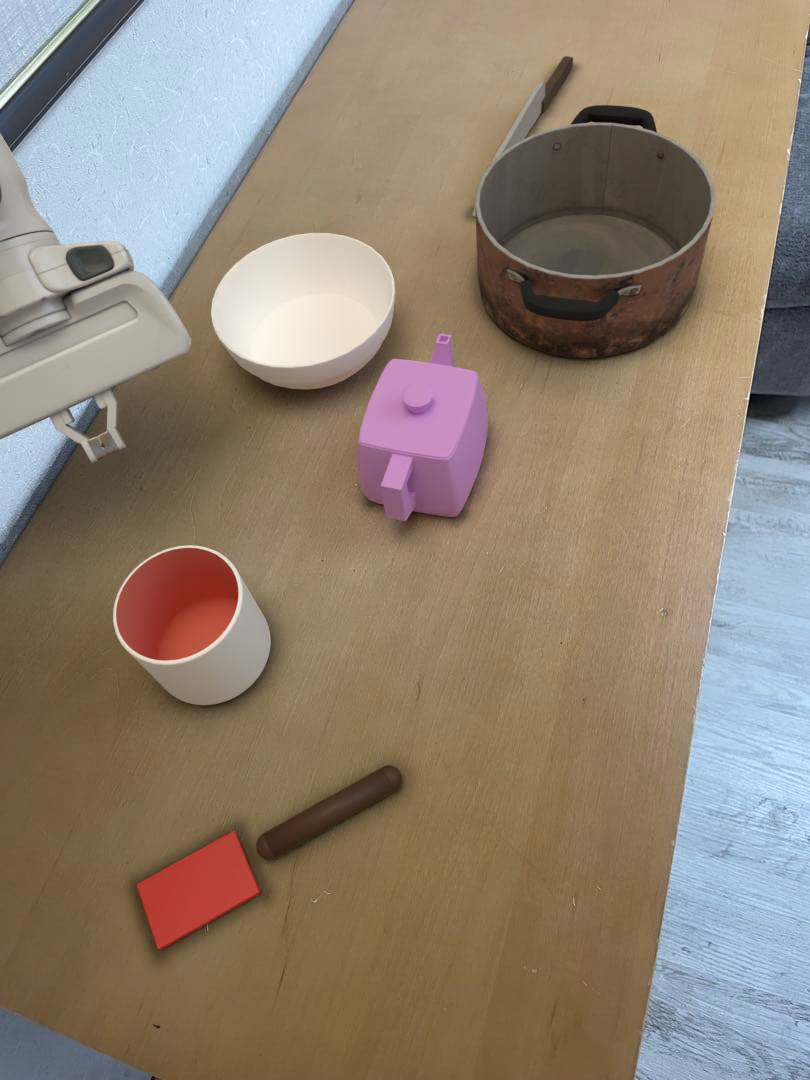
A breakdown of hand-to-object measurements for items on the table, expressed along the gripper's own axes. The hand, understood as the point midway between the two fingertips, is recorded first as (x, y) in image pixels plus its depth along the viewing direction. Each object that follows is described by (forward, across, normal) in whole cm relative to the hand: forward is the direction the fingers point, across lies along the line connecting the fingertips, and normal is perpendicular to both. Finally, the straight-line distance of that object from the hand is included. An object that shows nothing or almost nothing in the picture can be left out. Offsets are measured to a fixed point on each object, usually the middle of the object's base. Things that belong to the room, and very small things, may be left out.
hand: (109, 455), depth 69 cm
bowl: (0, +22, +18) cm, 28 cm away
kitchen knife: (-12, +58, +30) cm, 66 cm away
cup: (+19, 0, -1) cm, 19 cm away
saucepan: (+5, +50, +12) cm, 52 cm away
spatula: (+31, -2, -14) cm, 34 cm away
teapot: (+13, +25, +4) cm, 29 cm away
